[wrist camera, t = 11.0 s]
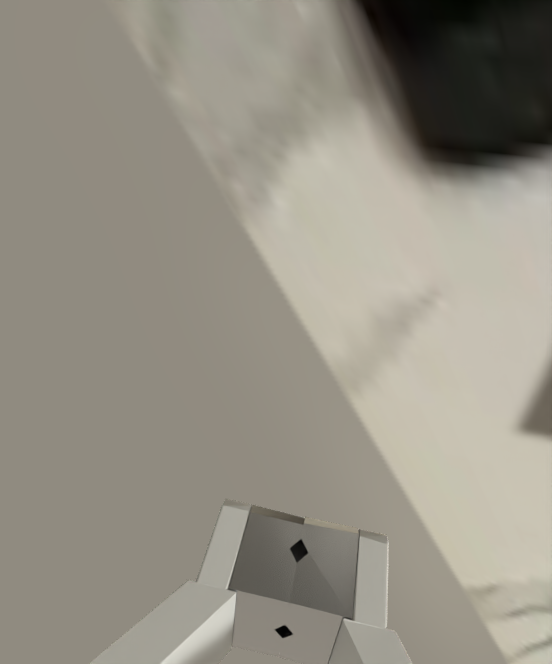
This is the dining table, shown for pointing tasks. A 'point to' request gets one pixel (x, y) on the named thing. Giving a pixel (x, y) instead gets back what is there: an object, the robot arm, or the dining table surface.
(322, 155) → the dining table surface
